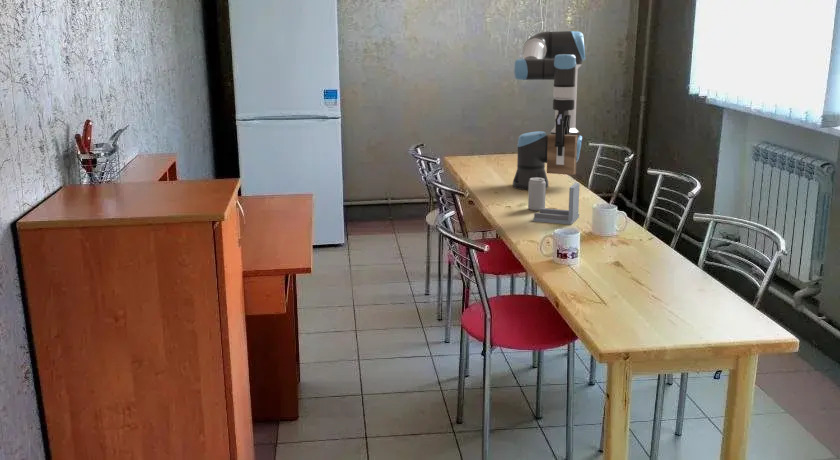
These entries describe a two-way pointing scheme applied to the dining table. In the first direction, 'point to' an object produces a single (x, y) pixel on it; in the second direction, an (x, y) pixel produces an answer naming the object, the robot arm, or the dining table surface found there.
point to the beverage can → (536, 194)
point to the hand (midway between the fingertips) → (561, 163)
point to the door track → (558, 214)
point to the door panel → (569, 155)
